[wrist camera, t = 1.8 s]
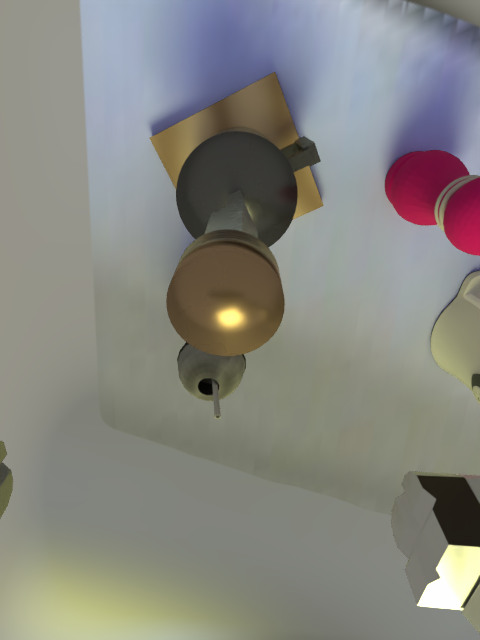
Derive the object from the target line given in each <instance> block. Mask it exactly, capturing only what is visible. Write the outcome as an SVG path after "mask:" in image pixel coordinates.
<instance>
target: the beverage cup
mask: <svg viewBox="0 0 480 640" xmlns="http://www.w3.org/2000/svg"><path fill="white" fill-rule="evenodd" d="M177 361H178V371H179V378H180V380H181V382H182V384H183V386H184V387H185V389H186V390H187V391H188V392H189V393H190V394H191V395H193V396H195V397H197V398H199V399H202V400H206V401H214V413H215V418H216V419H219V418H220V405H219V399H223V398H225V397H226V396H228V395H230V394H231V393H233V391H234V390H235V389H236V388H237V387H238V386H239V384H240V382H241V379H242V376H243V374H244V371H245V369H246V359H245V357H244V354H241V355H236V356H219V355H213V354H209V353H206V352H203V351H200V350H198V349H197V348H195V347H193V346H191V345H190V344H188V343H187V342H186V343H185V345H184V346H183V347H182V349H181V350H180V352H179V355H178V359H177Z"/></svg>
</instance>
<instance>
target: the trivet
mask: <svg viewBox="0 0 480 640" xmlns="http://www.w3.org/2000/svg"><path fill="white" fill-rule="evenodd" d="M231 127H248V128H251V129H254V130H257V131H259V132H260V133H262V134H263V135H265V136H266V137H267V138H268V139H269V140H270V141H271V142H272V143H273V144H274V145H275V146H276V147H278V148H279V149H282V148H284V147H286V146H288V145H290V144H292V143H294V141H295V140H297V139H299V137H298V134H297V131H296V128H295V126H294V123H293V120H292V117H291V115H290V112H289V109H288V106H287V104H286V101H285V98H284V95H283V93H282V90H281V87H280V84H279V82H278V79H277V76H276V73H275V72H274V73H272V74H270V75H268V76H266V77H264V78H262V79H260V80H258V81H257V82H255V83H253V84H251V85H249V86H247V87H245V88H243V89H241V90H239V91H238V92H236V93H234V94H232V95H230V96H228V97H226V98H224V99H222V100H221V101H219V102H217V103H215V104H213V105H211V106H209V107H207V108H205V109H203V110H202V111H200V112H198V113H196V114H194V115H192V116H190V117H188V118H186V119H185V120H183V121H181V122H179V123H177V124H175V125H173V126H171V127H169V128H168V129H166V130H164V131H162V132H160V133H158V134H156V135H154V136H152V137H150V140H151V142H152V144H153V146H154V148H155V150H156V151H157V153H158V155H159V157H160V159H161V161H162V163H163V165H164V167H165V169H166V171H167V173H168V175H169V177H170V179H171V181H172V182H173V184H174V186H175V188H177V181H178V176H179V173H180V171H181V168H182V166H183V164H184V162H185V160H186V159H187V158H188V156H189V155H190V153H191V152H192V151H193V150H194V149H195V148H196V147H197V146H198V145H200V144H201V143H202V142H203V141H205V140H207V139H208V138H210V137H212V136H214V135H215V134H217V133H219V132H220V131H222V130H225V129H227V128H231ZM294 175H295V178H296V182H297V190H298V198H297V206H296V211H295V214H294V217H293V219H295V218H297V217H299V216H302V215H304V214H306V213H308V212H311V211H313V210H315V209H317V208H320V207H322V206H323V203H322V200H321V197H320V195H319V192H318V189H317V186H316V184H315V181H314V178H313V175H312V173H311V170H310V167H309V166H307V167H304V168H302V169H300V170H298V171H296V172H294Z"/></svg>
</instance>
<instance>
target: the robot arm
mask: <svg viewBox="0 0 480 640" xmlns="http://www.w3.org/2000/svg"><path fill="white" fill-rule="evenodd" d="M431 351H432V354H433V357H434V359H435V361H436V362H437V364H438V365H439V366H440V367H441V368H442V369H443V370H445V371H446V372H448V373H450V374H451V375H453V376H455V377H456V378H457V379H459V380H460V381H461V382H462V383H464V384H465V385H466V386H467V387H468V388H469V389H470V390H471V391H472V392H473V394H474V396H475V398H476V400H477V401H478V403H479V404H480V271H476V272H473V273H471V274H469V275H468V276H467V277H466V279H465V280H464V282H463V284H462V286H461V288H460V291H459V293H458V295H457V297H456V298H455V299H454V301H453V302H452V303H451V304H450V305H449V306H448V307H447V308H446V309H445V310H444V311H443V313H442V314H441V315H440V317H439V318H438V320H437V322H436V324H435V326H434V329H433V332H432V336H431ZM6 455H7V452H6V449H5V445H4V442H2V441H0V518H1V517H2V515H3V513H4V511H5V509H6V508H7V506H8V503H9V500H10V496H11V493H12V487H13V477H12V472H11V470H10V469H9V468H8V467H7V466H6V465H5V464H4V463H2V461H3V459H4V458H5V456H6ZM402 487H403V489H404V492H405V493H403V494H402V495H400V496H399V497H397V498H396V499H395V502H394V505H393V508H392V517H391V524H392V530H393V536H394V538H395V542H396V545H397V548H398V549H399V550H400V551H401V552H402V553H403V554H404V555H405V556H406V557H407V558H408V559H409V560H408V562H407V565H406V568H405V571H406V575H407V578H408V580H409V583H410V586H411V589H412V592H413V595H414V598H415V601H416V603H417V606H426V607H436V608H447V609H457V610H463V611H462V613H463V615H464V616H465V617H466V618H467V619H468V621H469V622H470V623H471V624H472V625H473V626H474V628H475V629H476V630H477V631H478V632H479V634H480V476H477V475H462V474H459V475H457V474H449V473H434V472H418V471H409V472H408V473H407V474H406V475H405V476H404V479H403V481H402Z"/></svg>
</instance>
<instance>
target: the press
mask: <svg viewBox="0 0 480 640" xmlns="http://www.w3.org/2000/svg"><path fill="white" fill-rule="evenodd" d="M318 162H320V158H319V155H318V152H317V149H316V146H315V143H314V142H313V141H311V140H309V139H308V138H306V137H304V136H303V137H301V138H299V139H297V140H295V141H294V143H292V144H290V145H288V146H286V147H284V148H282V149H279V148H278V147H276V146H275V145H274V144H273V143H272V142H271V141H270V140H269V139H268V138H267V137H266V136H265V135H263V134H262V133H260V132H259V131H257V130H254V129H251V128H248V127H231V128H227V129H225V130H222V131H220V132H219V133H217V134H215V135H214V136H212V137H210V138H208V139H207V140H205V141H203V142H202V143H201V144H200V145H198V146H197V147H196V148H195V149H194V150H193V151H192V152H191V153H190V155H189V156H188V158H187V159H186V160H185V162H184V164H183V166H182V168H181V171H180V173H179V176H178V181H177V188H176V201H177V206H178V211H179V214H180V217H181V219H182V221H183V223H184V225H185V227H186V228H187V230H188V231H189V232H190V234H191V235H192V236H193V237H194V238H195V239H197V238H199V237H200V236H202V235H204V234H205V231H206V228H207V225H208V221H209V218H210V215H211V214H212V213H214V212H216V211H218V210H220V209H222V208H224V207H227V206H229V205H231V204H233V203H235V202H237V201H239V200H242V199H243V200H244V203H245V205H246V207H247V209H248V212H249V214H250V216H251V218H252V220H253V223H254V225H255V227H256V229H257V235H258V239H259V240H260V241H262V242H263V243H264V244H265V245H266V246H267V247H270V246H271V245H273V244H274V243H275V242H276V241H277V240H279V239H280V238H281V236H282V235H283V234H284V233H285V232H286V230H287V229H288V227H289V225H290V223H291V222H292V220H293V217H294V214H295V211H296V206H297V198H298V190H297V182H296V178H295V175H294V172H296V171H298V170H300V169H302V168H304V167H307V166H309V167H310V166H312V165H314V164H316V163H318Z"/></svg>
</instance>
